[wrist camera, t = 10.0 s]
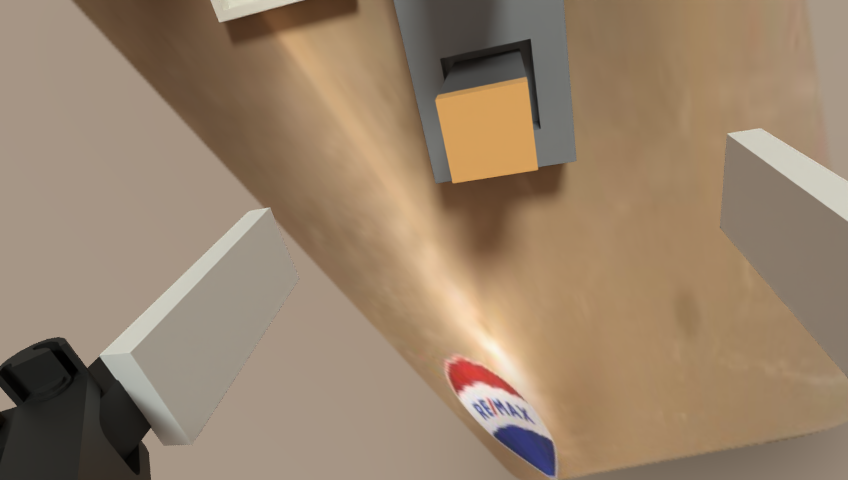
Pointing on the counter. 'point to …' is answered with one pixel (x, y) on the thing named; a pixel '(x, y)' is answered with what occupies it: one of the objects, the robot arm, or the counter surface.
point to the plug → (487, 117)
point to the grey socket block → (484, 35)
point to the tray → (245, 7)
